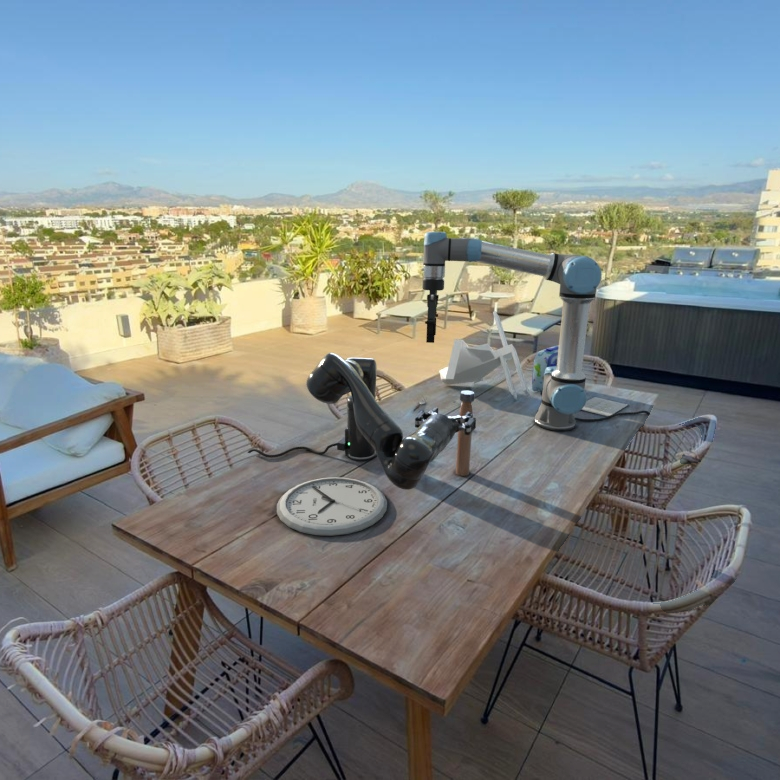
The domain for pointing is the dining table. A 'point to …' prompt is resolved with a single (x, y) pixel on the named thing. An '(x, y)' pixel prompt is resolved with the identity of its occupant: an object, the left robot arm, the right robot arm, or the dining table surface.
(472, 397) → the cap
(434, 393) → the dining table surface
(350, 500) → the wall clock
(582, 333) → the right robot arm
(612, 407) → the invitation card
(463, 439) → the ringed wooden cylinder
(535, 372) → the lunch box
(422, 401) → the fork
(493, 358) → the white plastic object
